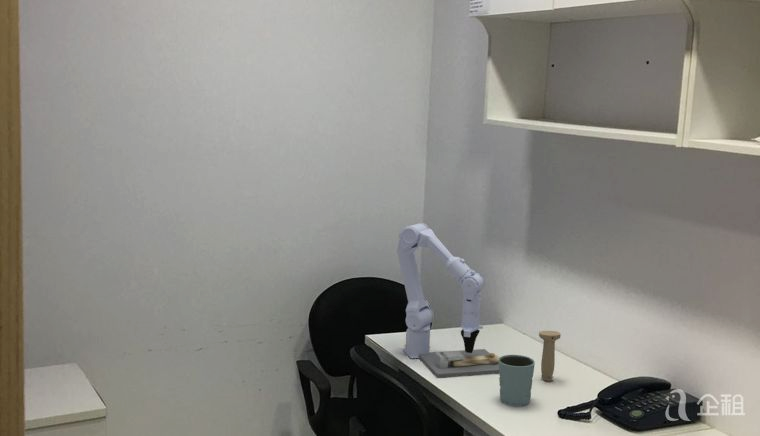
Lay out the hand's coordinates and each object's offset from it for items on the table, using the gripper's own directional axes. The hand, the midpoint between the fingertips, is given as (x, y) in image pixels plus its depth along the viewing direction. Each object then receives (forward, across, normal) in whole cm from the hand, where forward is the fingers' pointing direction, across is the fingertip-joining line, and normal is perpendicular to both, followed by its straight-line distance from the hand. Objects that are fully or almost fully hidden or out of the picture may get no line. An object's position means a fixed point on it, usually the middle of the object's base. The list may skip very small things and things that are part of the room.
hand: (469, 352), depth 243 cm
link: (+3, -2, -2) cm, 4 cm away
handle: (+4, -6, -25) cm, 26 cm away
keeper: (+3, -6, +5) cm, 8 cm away
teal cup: (+4, -25, -17) cm, 31 cm away
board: (+4, -1, +2) cm, 5 cm away
